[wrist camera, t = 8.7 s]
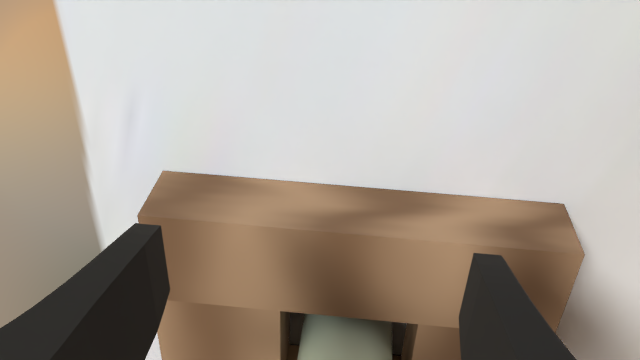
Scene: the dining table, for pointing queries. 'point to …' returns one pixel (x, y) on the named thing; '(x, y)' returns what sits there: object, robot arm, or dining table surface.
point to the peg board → (339, 261)
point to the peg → (344, 338)
